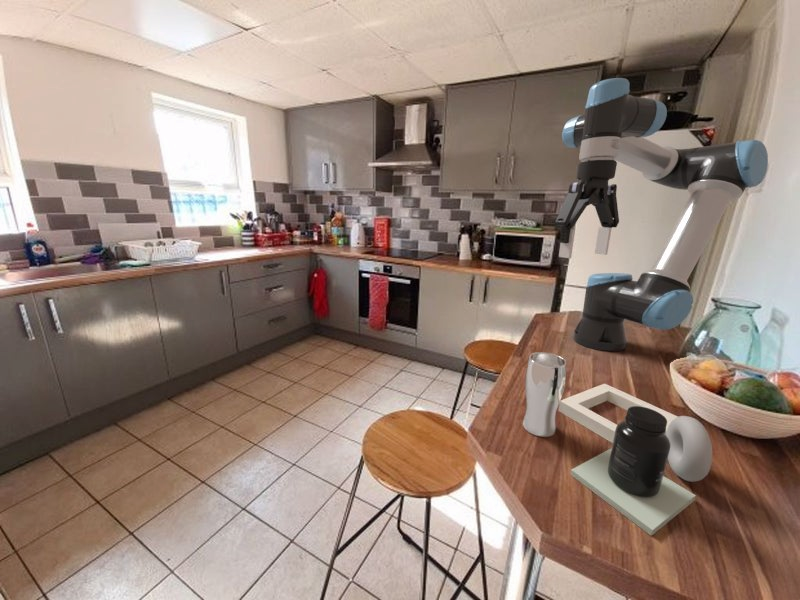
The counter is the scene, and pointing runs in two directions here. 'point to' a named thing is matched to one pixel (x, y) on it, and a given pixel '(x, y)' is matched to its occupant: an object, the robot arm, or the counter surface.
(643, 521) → the mat
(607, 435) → the holder
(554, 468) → the counter surface
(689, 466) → the donut
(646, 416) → the supplement bottle
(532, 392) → the beer glass
